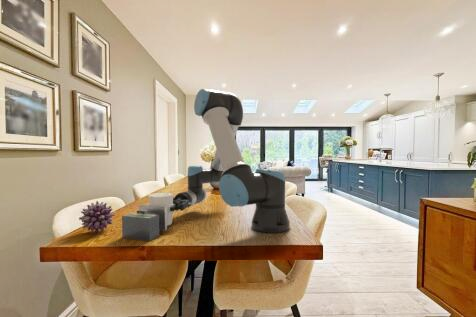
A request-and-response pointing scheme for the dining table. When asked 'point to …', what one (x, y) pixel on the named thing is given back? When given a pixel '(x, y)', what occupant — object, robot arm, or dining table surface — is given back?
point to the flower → (96, 216)
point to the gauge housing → (140, 226)
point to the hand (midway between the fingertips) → (153, 210)
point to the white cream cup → (162, 202)
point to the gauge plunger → (155, 211)
